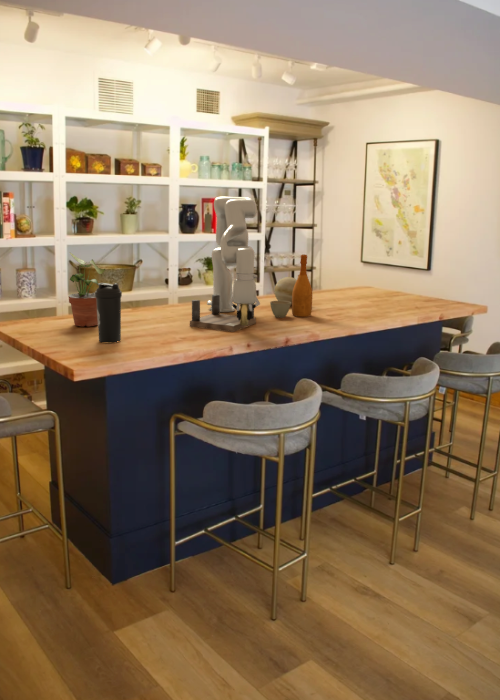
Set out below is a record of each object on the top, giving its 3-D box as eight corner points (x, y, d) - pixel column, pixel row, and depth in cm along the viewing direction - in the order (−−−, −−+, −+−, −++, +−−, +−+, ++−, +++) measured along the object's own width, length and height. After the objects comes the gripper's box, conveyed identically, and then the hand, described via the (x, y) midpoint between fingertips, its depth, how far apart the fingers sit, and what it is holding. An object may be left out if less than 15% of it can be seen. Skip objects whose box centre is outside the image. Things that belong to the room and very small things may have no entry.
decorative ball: (268, 304, 351) (269, 276, 348) (287, 301, 361) (288, 274, 358) (288, 308, 341) (289, 279, 337) (307, 305, 350) (308, 277, 347)
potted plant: (77, 330, 278) (74, 247, 270) (64, 324, 290) (60, 244, 282) (111, 326, 287) (109, 246, 279) (97, 320, 299) (95, 243, 291)
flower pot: (288, 319, 312) (289, 304, 310) (268, 318, 314) (268, 303, 312) (291, 315, 322) (292, 301, 320) (271, 314, 324) (272, 300, 322)
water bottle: (98, 337, 265) (96, 281, 260) (124, 337, 266) (122, 281, 260) (95, 343, 255) (92, 285, 250) (121, 343, 256) (119, 285, 251)
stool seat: (189, 326, 291) (189, 300, 288) (214, 318, 310) (214, 294, 308) (233, 331, 282) (233, 305, 279) (255, 323, 301) (256, 298, 298)
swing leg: (237, 319, 293) (238, 299, 291) (245, 319, 294) (246, 299, 292) (240, 325, 281) (240, 304, 279) (248, 325, 281) (248, 304, 279)
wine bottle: (313, 314, 324) (316, 254, 317) (308, 318, 315) (311, 255, 308) (294, 313, 327) (296, 253, 320) (289, 316, 318) (291, 254, 311)
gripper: (263, 276, 282) (262, 318, 286) (225, 275, 281) (224, 317, 285) (264, 278, 275) (263, 321, 279) (225, 278, 274) (224, 321, 278)
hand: (244, 319), depth 282 cm, fingers closed on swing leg, 3 cm apart
